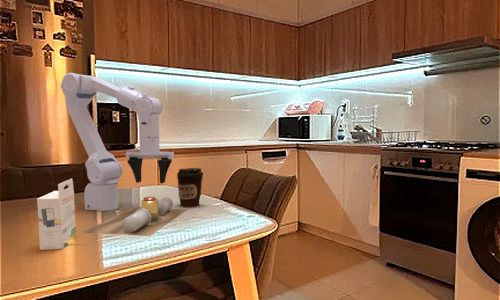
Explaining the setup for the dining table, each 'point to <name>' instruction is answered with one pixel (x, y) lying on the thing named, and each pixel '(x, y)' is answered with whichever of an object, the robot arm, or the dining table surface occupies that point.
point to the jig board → (116, 227)
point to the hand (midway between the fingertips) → (150, 182)
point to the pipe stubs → (145, 216)
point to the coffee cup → (189, 186)
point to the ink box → (56, 217)
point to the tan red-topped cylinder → (151, 207)
